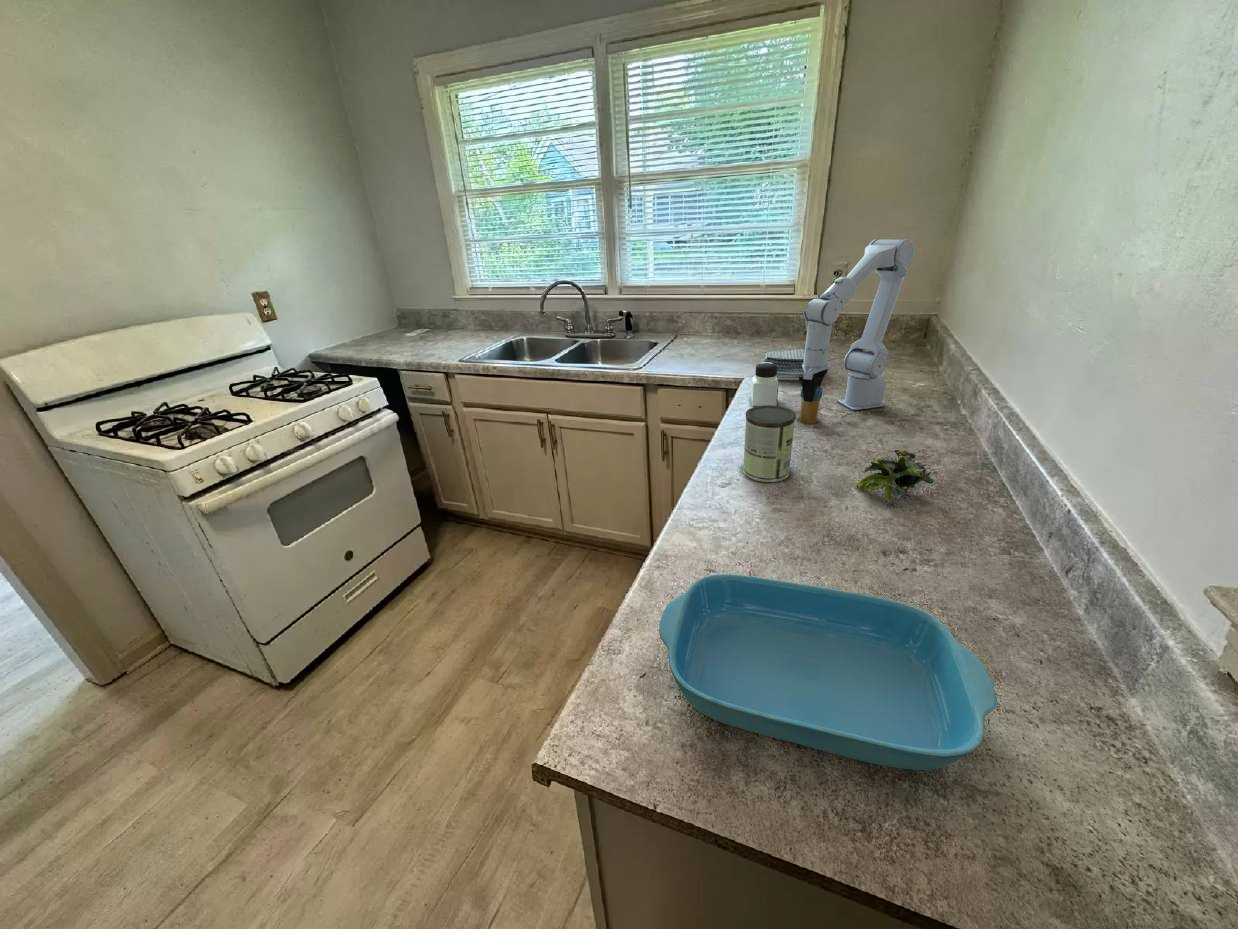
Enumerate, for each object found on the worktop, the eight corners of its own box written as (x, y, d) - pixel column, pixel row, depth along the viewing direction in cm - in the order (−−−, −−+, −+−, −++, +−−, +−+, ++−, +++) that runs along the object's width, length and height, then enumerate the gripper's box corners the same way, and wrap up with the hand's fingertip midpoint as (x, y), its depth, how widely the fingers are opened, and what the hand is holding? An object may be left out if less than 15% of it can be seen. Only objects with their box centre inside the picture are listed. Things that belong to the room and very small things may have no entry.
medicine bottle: (776, 406, 146) (780, 367, 141) (751, 406, 148) (754, 367, 142) (774, 398, 153) (778, 360, 147) (751, 398, 154) (753, 360, 149)
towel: (817, 381, 164) (820, 358, 161) (760, 380, 169) (762, 357, 166) (813, 368, 177) (816, 346, 174) (761, 367, 182) (762, 346, 178)
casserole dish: (950, 645, 66) (964, 605, 63) (1011, 822, 47) (1036, 778, 44) (678, 598, 77) (678, 562, 74) (640, 727, 58) (638, 685, 55)
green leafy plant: (892, 510, 104) (940, 471, 98) (895, 529, 95) (948, 487, 89) (849, 474, 106) (894, 434, 100) (847, 490, 97) (897, 446, 91)
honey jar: (810, 416, 138) (813, 386, 134) (820, 421, 134) (824, 391, 131) (795, 418, 137) (799, 389, 133) (806, 424, 133) (809, 394, 129)
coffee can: (744, 459, 117) (748, 403, 111) (790, 463, 114) (796, 406, 108) (739, 480, 109) (743, 420, 102) (788, 485, 106) (795, 424, 99)
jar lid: (803, 392, 136) (804, 384, 135) (823, 395, 134) (824, 386, 132) (798, 398, 132) (799, 389, 131) (819, 401, 130) (820, 392, 128)
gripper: (827, 356, 119) (820, 408, 126) (838, 342, 130) (831, 391, 136) (797, 353, 123) (791, 405, 129) (811, 340, 134) (805, 388, 140)
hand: (810, 398), depth 133 cm, fingers closed on jar lid, 5 cm apart
